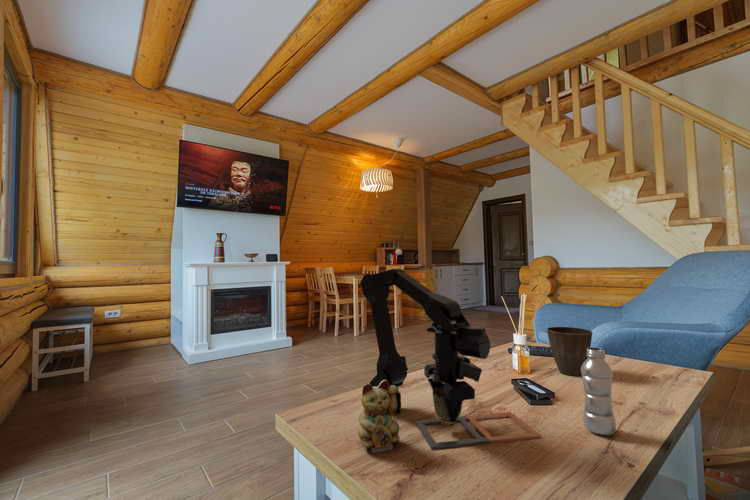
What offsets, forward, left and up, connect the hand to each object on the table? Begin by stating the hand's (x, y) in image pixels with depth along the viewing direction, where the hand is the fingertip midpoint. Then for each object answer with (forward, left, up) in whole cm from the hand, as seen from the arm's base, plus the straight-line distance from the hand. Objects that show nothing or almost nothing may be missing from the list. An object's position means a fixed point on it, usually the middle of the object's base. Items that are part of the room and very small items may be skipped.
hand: (447, 415), depth 83 cm
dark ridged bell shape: (0, 0, -2) cm, 2 cm away
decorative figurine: (-18, -2, -4) cm, 19 cm away
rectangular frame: (+7, 0, -4) cm, 8 cm away
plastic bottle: (+36, -7, -4) cm, 37 cm away
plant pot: (+62, +34, -4) cm, 71 cm away
